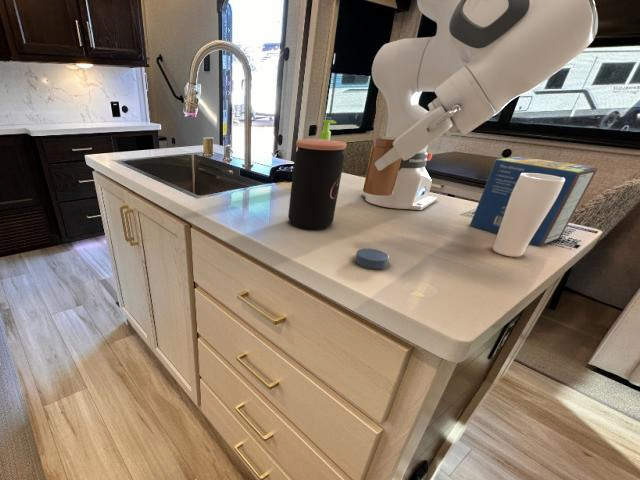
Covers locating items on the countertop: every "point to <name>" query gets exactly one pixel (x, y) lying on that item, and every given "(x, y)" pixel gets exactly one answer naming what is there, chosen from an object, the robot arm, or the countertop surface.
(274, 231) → the countertop surface
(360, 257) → the jam lid
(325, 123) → the soap dispenser
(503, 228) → the drinking glass
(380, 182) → the jam jar
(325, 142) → the coffee jar
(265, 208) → the countertop surface
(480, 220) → the protein box
